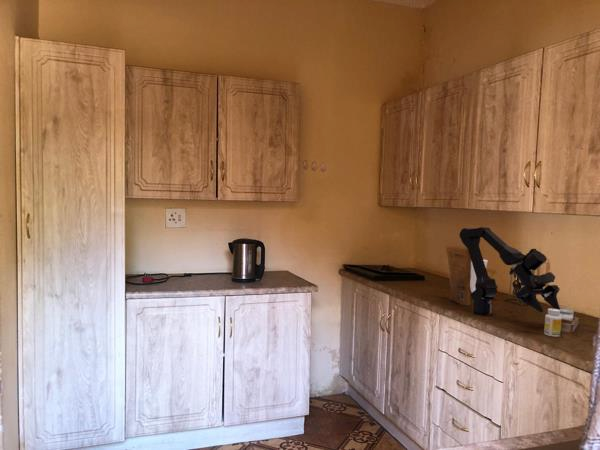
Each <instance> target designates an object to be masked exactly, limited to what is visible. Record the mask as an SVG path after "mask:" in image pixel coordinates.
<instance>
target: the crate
mask: <svg viewBox="0 0 600 450" xmlns="http://www.w3.org/2000/svg"><path fill="white" fill-rule="evenodd" d="M578 326H579V316H578V317H576V316H573V321H572V320H566V319H561V332H564V333H571V334H573V333H574V332H575V330H577V327H578Z"/></svg>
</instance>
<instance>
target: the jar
mask: <svg viewBox="0 0 600 450" xmlns="http://www.w3.org/2000/svg"><path fill="white" fill-rule="evenodd" d="M574 312H575V311H574V310H573V309H570V308H569V309H568V308H561V307H560V314H559V316H561V318H562V319H566V320H572V321H573V317H574Z"/></svg>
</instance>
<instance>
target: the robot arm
mask: <svg viewBox="0 0 600 450" xmlns="http://www.w3.org/2000/svg"><path fill="white" fill-rule="evenodd" d="M459 238H460V241H461V242H462V243H461V244H463V245H464V246H465V247H467V248H468V251H469V254H470V258H471V261H472V264H473V268H474V271H475V274H476V278H477V280H476V284H475V287H476V290H475V291H474V292H471V293H470V298H471V300H473V311H471V313H472V314H475V315H476V314H477V315H481V316H482V315H483V316H489V315H491V314H492V309H493V308H492V306H493V305H492V303H491V301H493V300H494V299H495V297H496V295H497V293H498V286H497V283H496V279H495V278H491V277H490V276H489V273H488V270H487V266H486V267H485V264H484V261H483V259H484V257H483V254H482V252H481V249H480V242H481V239H482V238H483V240H484V241H485V242H487V244H489V245H490V247H491V248H492V249H494V250H495V251H496V252H497V253H498V254H499V257H500V260H502V262H503V264H504V265H506V266H513V267H510V271H509V275H511V276H512V275H516V278H517V279H518V280H519V282H520V283H519V285H520V287H521V288H520V289H519V290H518V291H516V292H515V298H516V300H517V301H521V302H522V303H524V304H526V305H528V306H530V307H531V308H533V309H535V311H537V312H540V313H543V312H544V308H543V307H542V305H541V303H540V302H539V300H538V298H537V295H538V296H539V295H540V296H541V297H542V298H543V300H544V301H545V302H546V303H547V304H548V305H550V306H551V308H552V309H558V310H560V308H561V307H560V304H559V301H558V298H557V295H558V293H559V292H560V291H561V289H560V287H559V286H558V285H557V284H549V283H554V282H555V279H556V275H555V274H554V273H553V272H551V271H549V272H545V273H542V274H539V275H538V274H534V272H533V271H537V270H538V269H539V268H540V267H541V266H542V265H544V264H545V263H546V261H547V256H546V255H545V254H543V253H542V252H540V251H539V250H537V248H531V249H530V250H529V251H528V253H526V254H524V253H522V252H521V251H520V250H518V249H516V248H515V247H512V246H509V245H508V244H507V243H506V242H505V241H503V240H502V239H501V237H499V236H498V235H497V234H496V233H495V232H493V231H492V230H491V228H490V227H488V226H480V227H476V228H471V227H466V228H465V227H464V228H461V230H460V232H459Z"/></svg>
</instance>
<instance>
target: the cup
mask: <svg viewBox="0 0 600 450" xmlns="http://www.w3.org/2000/svg"><path fill="white" fill-rule="evenodd" d="M483 261H484V264H485V267H486V268H487V266H488V262H489V261H488V259H484V258H483ZM476 280H477V278H476V274H475V271H474V268H473V264H472V261H471V279H470V292H471V293H473V292H474V291H475V290H476V287H475V284H476Z"/></svg>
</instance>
